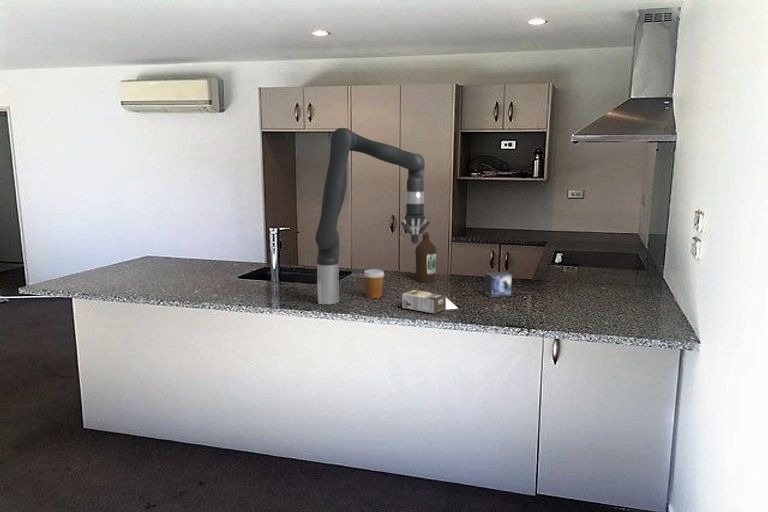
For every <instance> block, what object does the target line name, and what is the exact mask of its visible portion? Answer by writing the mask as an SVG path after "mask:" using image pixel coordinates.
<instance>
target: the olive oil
mask: <svg viewBox="0 0 768 512" xmlns="http://www.w3.org/2000/svg"><path fill="white" fill-rule="evenodd" d="M414 251H415V252H414V253H415V274H416V275H415V279H416V282H418V283H424V284H425V283H426V284H427V283H428V284H429V283H434V282H435V281H436V272H437V269H436V264H437V262H436V261H437V248H436V245H435V244H434V243H433V242H432V241H431V240H430V232H429V231H423V233H422V240H421V241H420V242H419V243H418V244H417V245H416V247H415V250H414Z"/></svg>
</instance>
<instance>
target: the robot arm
mask: <svg viewBox="0 0 768 512" xmlns="http://www.w3.org/2000/svg"><path fill="white" fill-rule="evenodd" d="M350 152H357V153H361V154H364V155H368V156H370V157H372V158H374V159H377V160H379V161H382V162H385V163H389V164H391V165H396V166H399V167H400V168H404V169H406V170H407V171H408V172H407V180H406V195H405V216H404V219H403V220H400V221H399V224H400V225H401V227H402V228H403V229H404V231H406V233H407V234H410V241H411V243H412V244H413V245H415V244H417V243H418V242H419V235H421V234H423V232H425V230H426V229H427V227H428V226H429V225H430V222H431V221H429V220H427V219H426V216H425V193H424V191H425V190H424V188H425V187H424V186H425V183H424V176H425V162H426V161H425V158H424V157H423V155H421V154H420V153H414V152H411V151H407V150H403V149H402V148H400V147H397V146H394V145H390V144H386V143H383V142H379V141H376V140H372V139H369V138H366V137H364V136H361V135H359V134H357V133H356V132H353V130H351V129H349V128H345V127H339V128H337V129H335V130H334V131H333V132H332V135H331V137H330V151H329V153H330V154H329V161H328V166H327V170H326V176H325V179H324V180H325V181H324V186H323V193H322V201H321V210H320V218H319V223H318V226H317V229H316V233H315V238H314V240H315V243H316V246H318V247H317V248H318V249H317V250H318V251H317V256H316V264H317V265H316V268H317V270H316V271H317V272H316V274H317V279H316V282H317V283H316V284H317V285H316V286H317V290H316V291H317V303H318V305H334V304H338V303H339V302H340V283H339V281H340V276H339V275H340V274H339V273H340V269H339V258H340V257H339V256H340V235H339V231H338V230H337V226H338V220H339V216H340V212H341V210H342V207H343V204H344V201H345V198H346V191H347V186H348V185H347V184H348V174H347V163H348V158H349V153H350ZM407 224H408V225H407ZM408 226H409V227H410V228H408ZM417 245H418V244H417Z"/></svg>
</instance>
